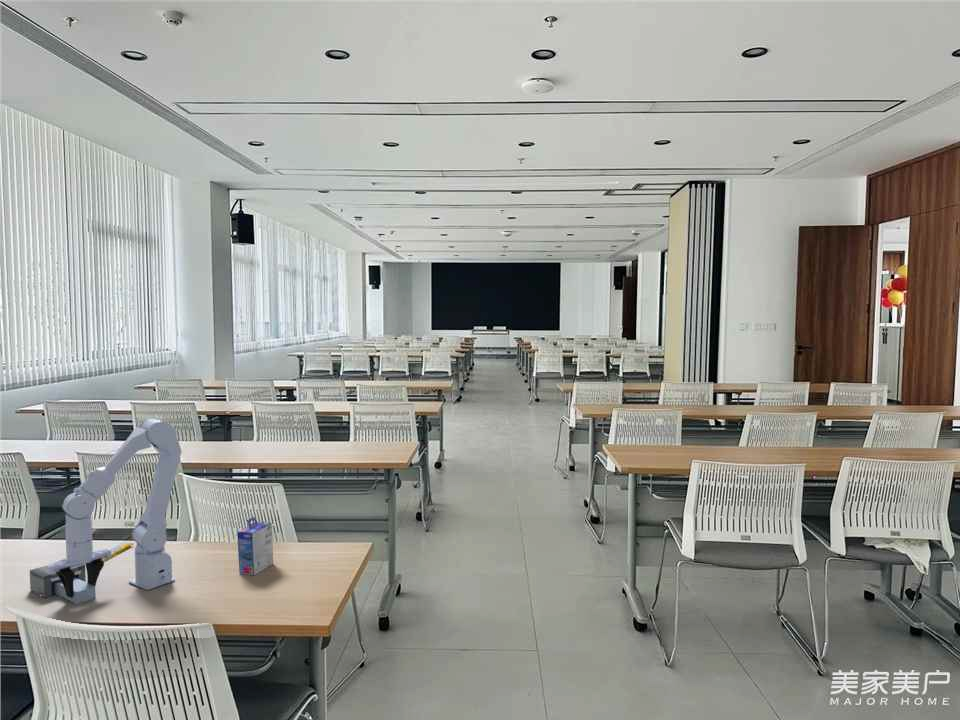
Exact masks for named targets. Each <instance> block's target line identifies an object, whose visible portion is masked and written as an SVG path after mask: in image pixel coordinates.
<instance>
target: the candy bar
mask: <svg viewBox="0 0 960 720" xmlns="http://www.w3.org/2000/svg"><path fill="white" fill-rule="evenodd" d="M134 545H135V543H133V542H124V543H123V542H122V543H121V544H119V545H117V546H114V547H113V548H110V550H111V558H104V559H102V561H104V563H105V562H107V561H109V560H111V559H112V558H115V557H116V556H118V555H120V554H122V553H123V552H125V551H127V550H129V549H130V548H131V547H133V546H134ZM121 552H122V553H121Z"/></svg>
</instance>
